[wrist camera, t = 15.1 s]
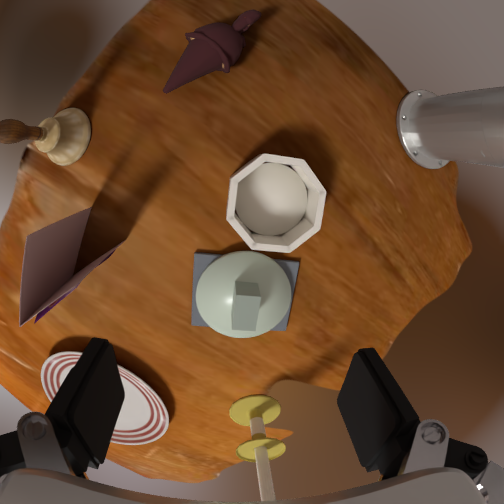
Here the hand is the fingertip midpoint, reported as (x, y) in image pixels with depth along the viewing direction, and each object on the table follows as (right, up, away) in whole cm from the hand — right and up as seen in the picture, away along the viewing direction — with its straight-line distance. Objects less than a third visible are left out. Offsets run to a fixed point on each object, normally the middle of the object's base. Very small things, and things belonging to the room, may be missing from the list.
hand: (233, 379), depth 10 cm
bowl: (+3, +11, +26) cm, 28 cm away
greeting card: (-23, +6, +25) cm, 34 cm away
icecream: (-4, +29, +19) cm, 35 cm away
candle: (+1, -26, +38) cm, 46 cm away
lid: (0, -1, +29) cm, 29 cm away
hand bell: (-25, +21, +20) cm, 38 cm away
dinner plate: (-28, -24, +35) cm, 51 cm away
